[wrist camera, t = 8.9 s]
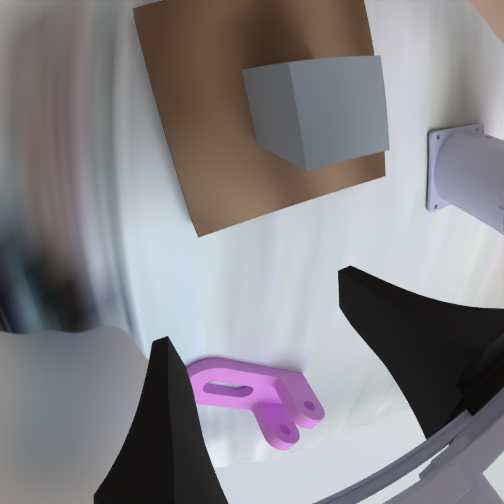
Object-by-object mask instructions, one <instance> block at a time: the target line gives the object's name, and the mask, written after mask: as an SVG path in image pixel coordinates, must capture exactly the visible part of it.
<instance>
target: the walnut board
mask: <svg viewBox="0 0 504 504" xmlns="http://www.w3.org/2000/svg"><path fill="white" fill-rule="evenodd" d="M133 12H134V19H135V23H136V27H137V31H138V35H139V39H140V43H141V47H142V51H143V55H144V59H145V63H146V67H147V71H148V74H149V78H150V82H151V86H152V89H153V93H154V97H155V100H156V104H157V107H158V111H159V115H160V118H161V122H162V125H163V129H164V132H165V135H166V139H167V142H168V146H169V149H170V152H171V156H172V159H173V162H174V165H175V169H176V172H177V175H178V178H179V182H180V185H181V188H182V191H183V194H184V198H185V201H186V204H187V207H188V210H189V213H190V216H191V219H192V222H193V225H194V228H195V230H196V233H197V235H198V237H201V236H204V235H207V234H210V233H213V232H216V231H218V230H221V229H224V228H227V227H230V226H233V225H236V224H239V223H242V222H244V221H247V220H250V219H253V218H256V217H259V216H262V215H265V214H268V213H271V212H274V211H277V210H280V209H283V208H286V207H289V206H292V205H295V204H298V203H301V202H304V201H307V200H311V199H314V198H317V197H320V196H323V195H326V194H329V193H332V192H336V191H339V190H342V189H345V188H348V187H351V186H355V185H358V184H361V183H364V182H368V181H371V180H374V179H377V178H381V177H384V176H385V154H384V151H382V152H378V153H374V154H370V155H366V156H362V157H358V158H354V159H350V160H346V161H342V162H338V163H334V164H331V165H327V166H323V167H320V168H316V169H312V170H309V171H305V170H304V169H302V168H300V167H298V166H296V165H295V164H293V163H291V162H289V161H287V160H285V159H283V158H281V157H280V156H278V155H276V154H274V153H272V152H270V151H268V150H266V149H264V148H262V147H260V146H258V145H257V140H256V135H255V130H254V125H253V121H252V116H251V111H250V106H249V102H248V97H247V92H246V88H245V83H244V79H243V74H242V70H244V69H250V68H255V67H261V66H266V65H273V64H279V63H286V62H294V61H302V60H311V59H322V58H334V57H350V56H374V50H373V44H372V38H371V33H370V28H369V23H368V18H367V13H366V8H365V4H364V0H163V1H159V2H155V3H152V4H148V5H144V6H141V7H137V8H134V9H133Z"/></svg>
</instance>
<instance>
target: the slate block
mask: <svg viewBox="0 0 504 504" xmlns="http://www.w3.org/2000/svg"><path fill="white" fill-rule="evenodd" d="M242 74H243V79H244V83H245V88H246V92H247V97H248V102H249V106H250V111H251V116H252V121H253V125H254V130H255V135H256V140H257V145H258V146H260V147H262V148H264V149H266V150H268V151H270V152H272V153H274V154H276V155H278V156H280V157H281V158H283V159H285V160H287V161H289V162H291V163H293V164H295V165H296V166H298V167H300V168H302V169H304V170H305V171H309V170H312V169H316V168H320V167H323V166H327V165H331V164H334V163H338V162H342V161H346V160H350V159H354V158H358V157H362V156H366V155H370V154H374V153H378V152H382V151H386V150H389V135H388V120H387V108H386V98H385V88H384V80H383V72H382V64H381V57H380V56H350V57H334V58H322V59H311V60H302V61H294V62H286V63H279V64H273V65H266V66H261V67H255V68H250V69H244V70H242Z"/></svg>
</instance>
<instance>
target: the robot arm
mask: <svg viewBox="0 0 504 504" xmlns="http://www.w3.org/2000/svg"><path fill="white" fill-rule="evenodd" d="M450 204H452V205H454V206H456V207H457V208H459V209H461V210H463V211H465V212H466V213H468V214H470V215H472V216H473V217H475V218H477V219H479V220H480V221H482V222H484V223H485V224H487V225H489V226H490V227H492V228H494V229H495V230H497V231H499V232H500V233H502V234H503V235H504V141H503V140H501V139H498V138H495V137H492V136H489V135H486V134H484V127H483V125H482V124H473V125H467V126H461V127H455V128H450V129H444V130H439V131H434V132H431V133H430V134H429V180H428V201H427V210H428V211H429V212H434V211H436V210H439V209H441V208H443V207H446V206H448V205H450ZM338 281H339V307H340V309H341V310H342V312H343V313H344V315H345V317H346V318H347V320H348V321H349V323H350V324H351V325H352V327H353V328H354V329H355V330H356V331H357V333H358V334H359V335H360V336H361V337H362V338H363V340H364V341H365V342H366V343H367V344H368V345H369V347H370V348H371V349H372V350H373V351H374V352H375V354H376V355H377V356H378V357H379V358H380V359H381V361H382V362H383V363H384V365H385V366H386V367H387V369H388V370H389V372H390V373H391V375H392V376H393V378H394V380H395V381H396V383H397V384H398V386H399V388H400V389H401V391H402V393H403V394H404V396H405V398H406V399H407V401H408V403H409V405H410V407H411V408H412V410H413V412H414V414H415V416H416V418H417V420H418V422H419V424H420V426H421V428H422V431H423V433H424V435H425V438H426V439H427V440H426V441H425V442H423V443H422V444H420V445H419V446H417V447H416V448H414V449H413V450H411V451H410V452H408V453H407V454H405V455H404V456H402V457H401V458H399V459H398V460H396V461H394V462H393V463H391V464H389V465H388V466H386V467H384V468H383V469H381V470H379V471H378V472H376V473H374V474H372V475H371V476H369V477H367V478H365V479H363V480H361V481H359V482H358V483H356V484H354V485H352V486H350V487H348V488H346V489H344V490H342V491H340V492H338V493H336V494H333V495H331V496H329V497H327V498H325V499H323V500H320V501H318V502H316V503H313V504H356V503H358V502H360V501H362V500H364V499H366V498H368V497H369V496H371V495H373V494H375V493H377V492H378V491H380V490H382V489H384V488H385V487H387V486H388V485H390V484H392V483H394V482H395V481H397V480H399V479H400V478H401V477H403V476H405V475H406V474H408V473H409V472H411V471H412V470H414V469H415V468H417V467H418V466H420V465H421V464H423V463H424V462H426V461H427V460H428V459H430V458H431V457H432V456H434V455H435V454H437V453H438V452H439V451H441V450H442V449H443V448H445V447H446V446H447V445H448V444H449V446H448V447H447V448H446V449H445V450H444V451H443V452H441V453H440V454H439V455H438V456H437V457H435V458H434V459H433V460H432V461H431V463H430V464H429V465H428V466H427V467H426V468H425V469H424V470H423V471H422V472H421V473H420V474H419V477H420V479H421V480H420V481H418V482H417V483H415V484H414V485H412V486H411V487H409V488H408V489H406V490H404V491H403V492H401V493H400V494H398V495H396V496H394V497H393V498H391V499H390V500H388V501H386V502H385V503H383V504H504V502H503V501H502V499H501V498H500V497H499V495H498V494H497V493H496V491H495V490H494V489H493V487H492V486H491V485H490V483H489V482H488V481H487V479H486V478H485V476H484V475H483V474H482V473H483V472H484V471H485V470H486V469H487V468H488V467H489V466H490V465H491V464H492V463H493V462H494V461H495V460H496V459H497V458H498V457H499V455H501V453H502V452H503V451H504V309H497V308H478V307H469V306H463V305H457V304H452V303H447V302H443V301H439V300H435V299H432V298H428V297H425V296H422V295H419V294H416V293H413V292H410V291H408V290H405V289H403V288H400V287H398V286H395V285H393V284H391V283H388V282H386V281H384V280H381V279H379V278H377V277H375V276H373V275H370V274H368V273H366V272H364V271H362V270H359V269H357V268H355V267H353V266H348V267H346V268H344V269H341V270H339V271H338ZM94 504H228V502H227V500H226V497H225V495H224V493H223V490H222V488H221V486H220V483H219V481H218V478H217V476H216V474H215V471H214V468H213V466H212V463H211V460H210V457H209V455H208V452H207V449H206V446H205V443H204V439H203V435H202V431H201V426H200V421H199V417H198V412H197V407H196V402H195V397H194V392H193V388H192V385H191V381H190V378H189V375H188V372H187V369H186V366H185V365H184V363H183V361H182V360H181V358H180V356H179V355H178V353H177V351H176V349H175V348H174V346H173V344H172V342H171V341H170V339H169V337H168V336H167V337H164V338H161V339H158V340H155V341H153V343H152V347H151V353H150V359H149V364H148V369H147V374H146V377H145V382H144V386H143V390H142V394H141V397H140V401H139V405H138V408H137V411H136V414H135V417H134V420H133V422H132V425H131V428H130V430H129V433H128V435H127V437H126V440H125V442H124V444H123V446H122V449H121V451H120V453H119V455H118V456H117V458H116V460H115V462H114V464H113V466H112V468H111V469H110V471H109V473H108V475H107V476H106V478H105V479H104V481H103V482H102V484H101V485H100V487H99V488H98V490H97V491H96V493H95V494H94Z"/></svg>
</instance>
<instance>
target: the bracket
mask: <svg viewBox="0 0 504 504" xmlns="http://www.w3.org/2000/svg"><path fill="white" fill-rule="evenodd" d="M187 372H188V375H189V378H190V381H191V385H192V388H193V392H194V397H195V402H196V403H197V404H204V405H212V406H220V407H229V408H239V409H249V410H251V411H253V413H254V415H255V417H256V419H257V422H258V424H259V426H260V429H261V431H262V433H263V436H264V438H265V440H266V441H267V442H268V443H269V444H270V445H271V446H272V447H274V448H276V449H279V450H287V449H289V448H290V447H291V446H293V445H294V444H295V443H296V442H297V441H298V440H299V437H300V435H299V431H298V429H297V427H296V425H295V423H296V424H297V425H299V426H301V427H303V428H308V429H310V428H313V427H314V426H315V425H316V424H317V423H319V422H320V421H321V420H322V419H323V418H324V415H325V413H324V409H323V407H322V405H321V404H320V402H319V400H318V399H317V397H316V395H315V394H314V392H313V390H312V389H311V387H310V385H309V384H308V382H307V380H306V379H305V377H304V375H303V373H300V372H294V371H287V370H281V369H275V368H269V367H263V366H258V365H252V364H247V363H242V362H237V361H232V360H227V359H222V358H209V359H204V360H201V361H198V362H196V363H194V364H192V365H190V366H189V367H188V368H187ZM212 381H218V382H224V383H230V384H237V385H244V386H245V387H243V388H231V387H225V386H218V385H212V384H207V383H209V382H212ZM294 422H295V423H294Z"/></svg>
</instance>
